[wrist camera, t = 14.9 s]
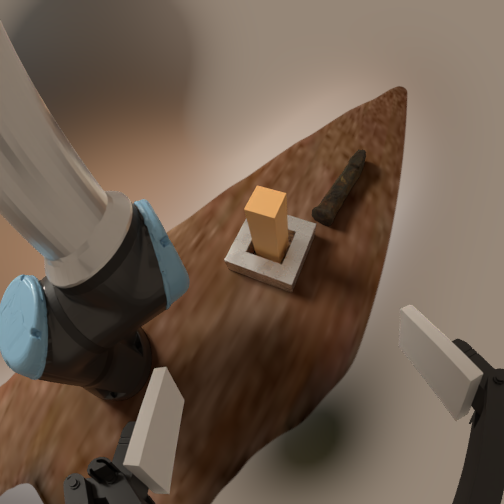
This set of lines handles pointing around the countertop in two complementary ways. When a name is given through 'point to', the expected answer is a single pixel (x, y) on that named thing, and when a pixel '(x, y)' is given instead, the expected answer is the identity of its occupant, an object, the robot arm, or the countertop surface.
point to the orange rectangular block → (268, 223)
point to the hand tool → (339, 190)
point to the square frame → (265, 269)
